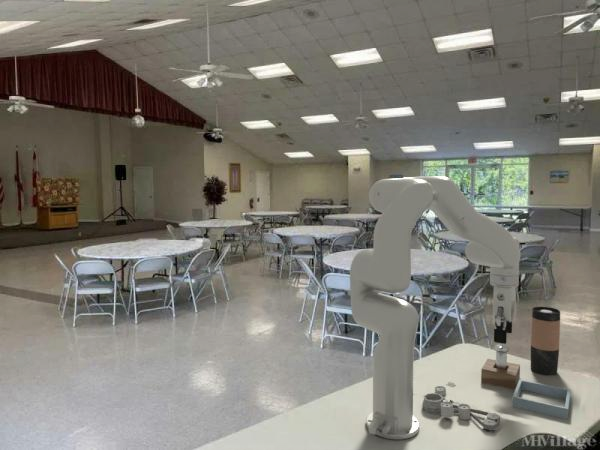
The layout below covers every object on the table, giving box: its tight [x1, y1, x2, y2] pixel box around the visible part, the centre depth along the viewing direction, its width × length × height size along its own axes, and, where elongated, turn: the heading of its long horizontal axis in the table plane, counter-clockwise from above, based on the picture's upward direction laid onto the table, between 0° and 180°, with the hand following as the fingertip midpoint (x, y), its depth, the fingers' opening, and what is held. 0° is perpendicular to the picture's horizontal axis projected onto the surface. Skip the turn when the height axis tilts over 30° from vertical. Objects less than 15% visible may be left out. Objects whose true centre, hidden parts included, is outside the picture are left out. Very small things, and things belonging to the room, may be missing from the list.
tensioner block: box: [480, 358, 521, 391], centre depth 135 cm, size 9×9×5 cm
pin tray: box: [511, 378, 571, 420], centre depth 121 cm, size 12×12×4 cm
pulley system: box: [421, 381, 501, 431], centre depth 121 cm, size 27×5×15 cm
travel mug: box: [530, 306, 561, 377], centre depth 140 cm, size 8×8×20 cm
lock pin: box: [494, 344, 509, 370], centre depth 134 cm, size 4×4×10 cm
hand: (503, 337), depth 134 cm, fingers open, 9 cm apart
